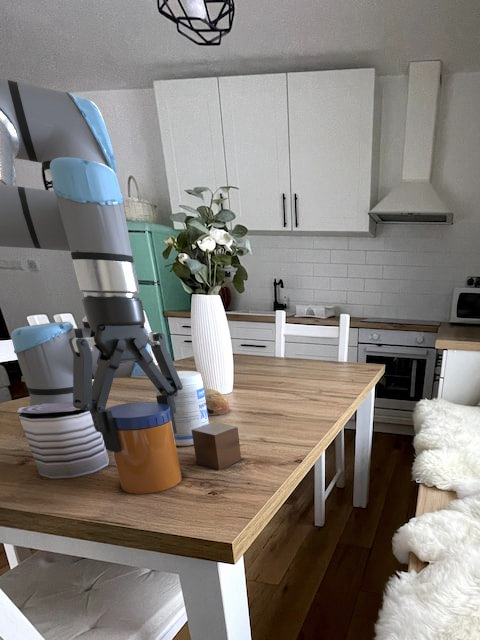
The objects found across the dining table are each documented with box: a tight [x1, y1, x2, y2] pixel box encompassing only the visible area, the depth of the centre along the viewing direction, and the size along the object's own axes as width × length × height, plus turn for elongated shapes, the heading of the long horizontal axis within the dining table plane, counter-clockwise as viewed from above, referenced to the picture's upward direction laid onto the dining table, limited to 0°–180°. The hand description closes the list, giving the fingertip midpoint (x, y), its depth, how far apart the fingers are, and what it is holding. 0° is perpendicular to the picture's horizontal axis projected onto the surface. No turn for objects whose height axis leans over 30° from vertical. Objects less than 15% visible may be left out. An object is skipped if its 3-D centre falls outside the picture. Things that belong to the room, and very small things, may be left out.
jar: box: [111, 420, 183, 495], centre depth 67 cm, size 10×10×13 cm
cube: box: [191, 421, 242, 471], centre depth 77 cm, size 6×6×7 cm
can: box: [15, 402, 110, 480], centre depth 72 cm, size 11×11×12 cm
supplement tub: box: [154, 370, 210, 447], centre depth 86 cm, size 10×10×15 cm
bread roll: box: [204, 388, 230, 417], centre depth 110 cm, size 10×10×8 cm
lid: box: [105, 401, 172, 430], centre depth 65 cm, size 10×10×2 cm
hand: (143, 440), depth 66 cm, fingers closed on lid, 10 cm apart
